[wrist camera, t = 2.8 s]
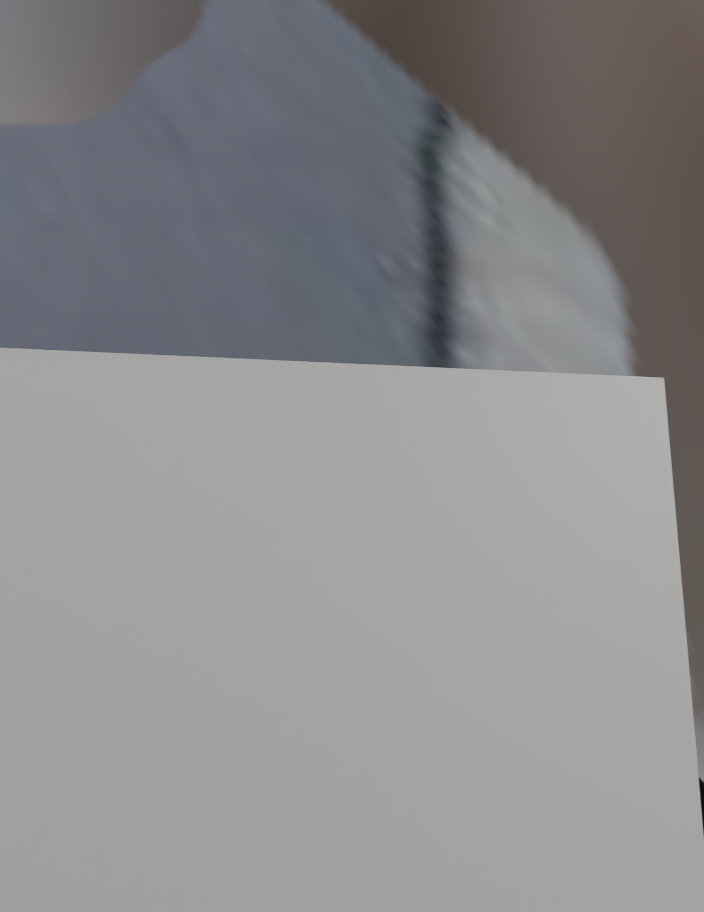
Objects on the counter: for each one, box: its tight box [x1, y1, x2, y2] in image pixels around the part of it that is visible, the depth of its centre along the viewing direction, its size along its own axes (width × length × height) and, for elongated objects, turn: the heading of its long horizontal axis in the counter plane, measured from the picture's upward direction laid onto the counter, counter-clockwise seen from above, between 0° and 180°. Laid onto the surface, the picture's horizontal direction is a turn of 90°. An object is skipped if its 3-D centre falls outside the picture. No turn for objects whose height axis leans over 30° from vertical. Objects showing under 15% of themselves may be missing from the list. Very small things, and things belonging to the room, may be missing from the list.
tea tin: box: [0, 348, 704, 912], centre depth 9 cm, size 6×6×12 cm
